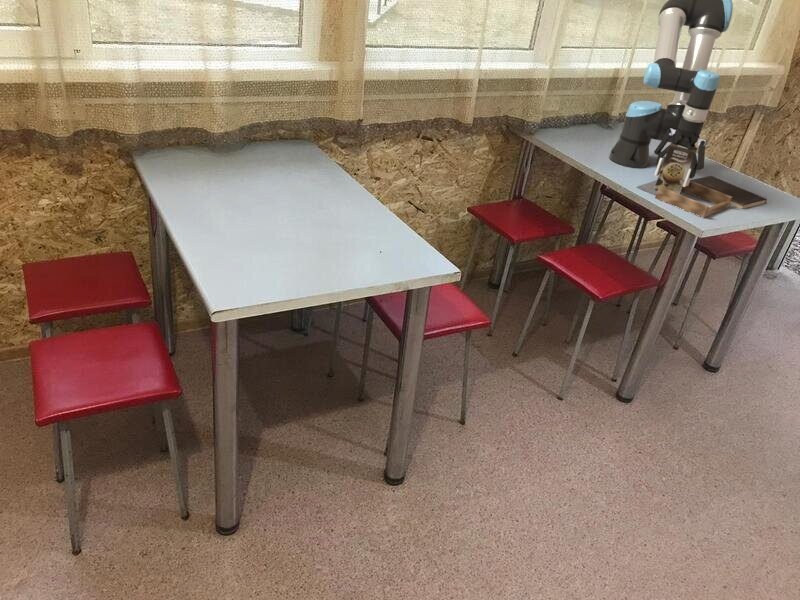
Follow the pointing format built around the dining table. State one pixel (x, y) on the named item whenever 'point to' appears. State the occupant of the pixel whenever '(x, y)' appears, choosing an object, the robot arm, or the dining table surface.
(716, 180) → the hardcover book
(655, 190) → the mat
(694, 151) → the coffee box
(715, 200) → the shelf lane
